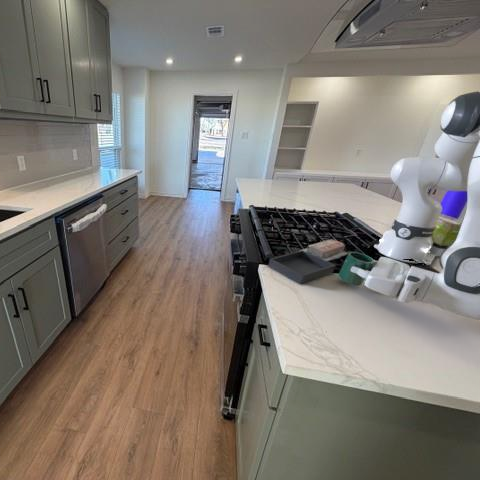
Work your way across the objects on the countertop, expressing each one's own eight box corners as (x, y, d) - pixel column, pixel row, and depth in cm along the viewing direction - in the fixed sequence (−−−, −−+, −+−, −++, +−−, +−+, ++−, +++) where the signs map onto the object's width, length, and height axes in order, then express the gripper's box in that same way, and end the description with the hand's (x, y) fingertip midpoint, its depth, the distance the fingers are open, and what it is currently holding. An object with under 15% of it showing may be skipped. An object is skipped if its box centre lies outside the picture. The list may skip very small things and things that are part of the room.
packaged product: (327, 236, 110) (351, 244, 102) (323, 246, 112) (347, 255, 104) (301, 243, 102) (325, 253, 94) (298, 253, 104) (322, 264, 96)
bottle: (441, 230, 136) (470, 173, 124) (454, 236, 129) (486, 176, 117) (423, 228, 138) (450, 172, 126) (434, 234, 130) (464, 175, 118)
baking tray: (300, 256, 101) (302, 250, 100) (333, 272, 91) (335, 265, 90) (268, 265, 94) (269, 258, 92) (300, 284, 83) (302, 276, 82)
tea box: (404, 242, 119) (419, 211, 113) (426, 243, 118) (442, 213, 112) (434, 256, 105) (453, 223, 99) (459, 258, 105) (479, 225, 99)
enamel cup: (345, 272, 87) (356, 250, 83) (366, 283, 82) (378, 260, 78) (333, 275, 84) (344, 253, 80) (354, 287, 79) (366, 264, 75)
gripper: (421, 261, 77) (365, 246, 86) (413, 285, 64) (349, 265, 73) (412, 279, 79) (359, 263, 89) (403, 305, 67) (342, 283, 76)
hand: (354, 264), depth 81 cm, fingers closed on enamel cup, 7 cm apart
